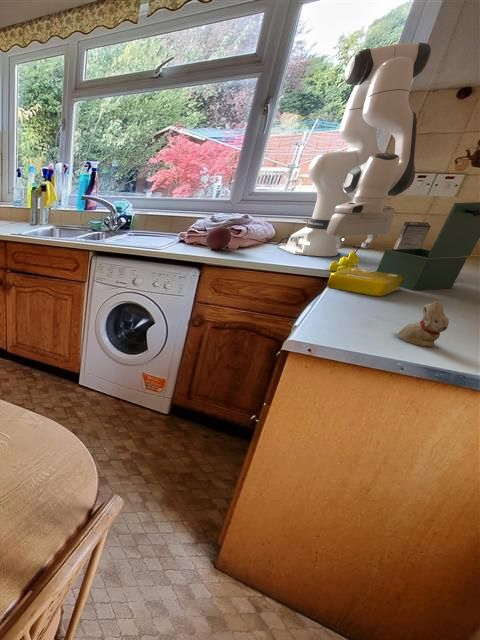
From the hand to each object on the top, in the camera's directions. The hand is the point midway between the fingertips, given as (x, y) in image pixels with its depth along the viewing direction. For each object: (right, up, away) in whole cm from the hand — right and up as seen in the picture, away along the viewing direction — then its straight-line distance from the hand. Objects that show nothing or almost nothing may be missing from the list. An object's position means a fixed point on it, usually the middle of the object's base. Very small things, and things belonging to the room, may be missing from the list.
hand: (351, 248), depth 155 cm
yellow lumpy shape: (0, -7, +4) cm, 9 cm away
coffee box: (+21, -6, +5) cm, 23 cm away
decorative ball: (-23, +13, +45) cm, 52 cm away
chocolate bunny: (-32, -39, -53) cm, 73 cm away
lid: (+9, -3, -26) cm, 28 cm away
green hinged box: (+10, -15, -11) cm, 21 cm away
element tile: (-10, -18, -14) cm, 25 cm away
